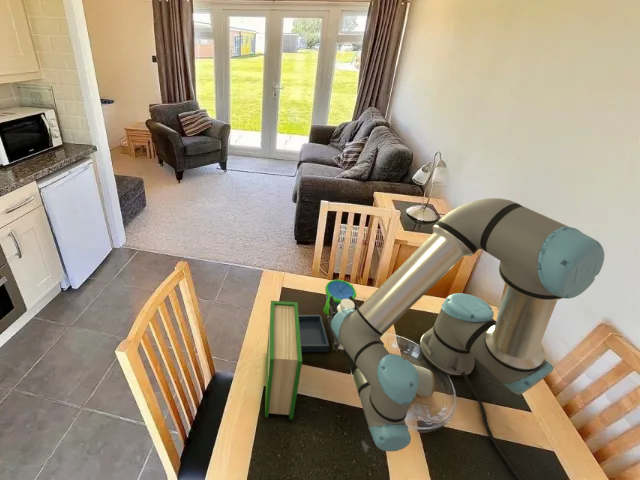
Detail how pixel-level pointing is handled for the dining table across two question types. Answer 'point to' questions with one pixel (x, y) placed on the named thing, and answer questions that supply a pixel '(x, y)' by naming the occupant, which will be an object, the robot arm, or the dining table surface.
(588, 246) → the robot arm
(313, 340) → the tote
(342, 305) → the supplement bottle
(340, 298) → the snack cup
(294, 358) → the hardback book
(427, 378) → the ceramic mug
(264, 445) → the dining table surface
